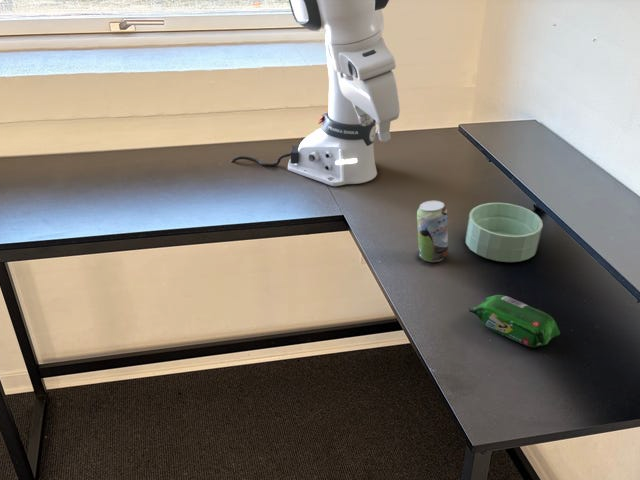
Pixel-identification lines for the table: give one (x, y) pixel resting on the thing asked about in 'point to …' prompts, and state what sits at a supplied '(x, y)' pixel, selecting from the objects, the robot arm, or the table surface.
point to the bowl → (503, 232)
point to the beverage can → (432, 231)
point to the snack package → (516, 320)
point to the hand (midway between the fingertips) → (375, 132)
